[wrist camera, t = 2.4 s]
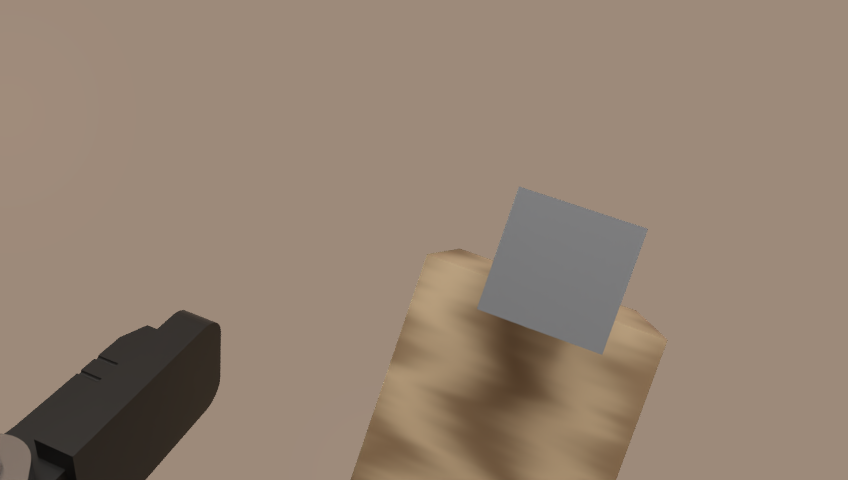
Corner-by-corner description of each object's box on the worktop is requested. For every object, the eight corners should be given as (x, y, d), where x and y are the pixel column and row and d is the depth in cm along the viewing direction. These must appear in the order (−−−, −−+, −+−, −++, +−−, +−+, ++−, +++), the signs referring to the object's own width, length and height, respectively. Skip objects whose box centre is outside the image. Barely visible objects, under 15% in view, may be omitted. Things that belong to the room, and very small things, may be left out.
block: (476, 308, 21) (518, 186, 21) (521, 264, 51) (538, 213, 50) (602, 354, 20) (647, 228, 20) (572, 282, 50) (591, 231, 50)
